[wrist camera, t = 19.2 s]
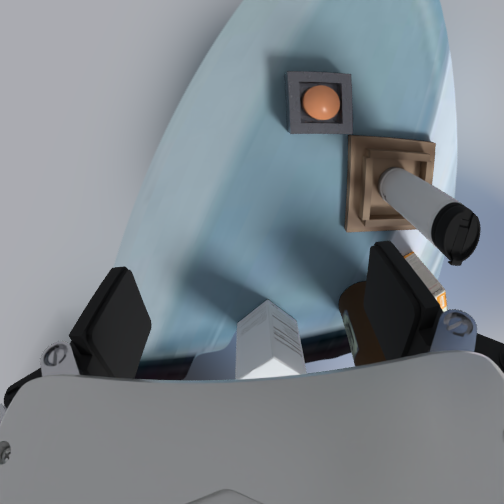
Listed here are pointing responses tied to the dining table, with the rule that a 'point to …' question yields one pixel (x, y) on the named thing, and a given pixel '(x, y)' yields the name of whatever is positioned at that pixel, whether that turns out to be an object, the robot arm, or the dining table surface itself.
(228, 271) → the dining table surface
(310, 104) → the button
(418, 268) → the supplement box
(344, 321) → the olive oil
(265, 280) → the dining table surface
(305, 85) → the button housing
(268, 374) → the supplement box
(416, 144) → the tan flat square tray
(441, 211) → the travel mug
